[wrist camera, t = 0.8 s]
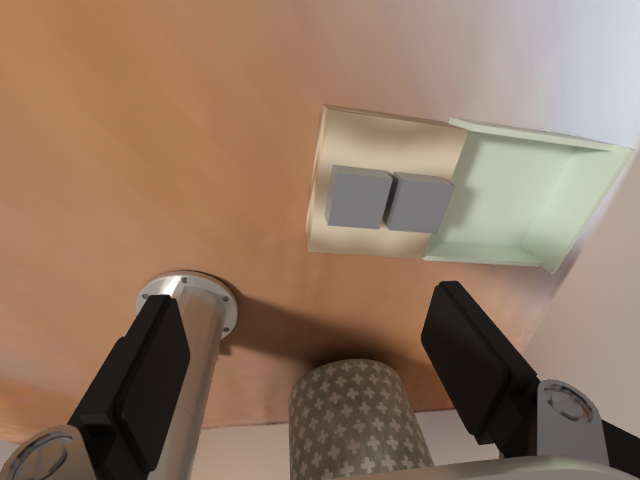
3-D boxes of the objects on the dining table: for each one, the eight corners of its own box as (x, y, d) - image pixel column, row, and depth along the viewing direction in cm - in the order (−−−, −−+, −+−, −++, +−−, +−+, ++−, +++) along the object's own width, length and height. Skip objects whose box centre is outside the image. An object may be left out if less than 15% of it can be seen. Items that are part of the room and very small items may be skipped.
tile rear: (426, 222, 31) (436, 233, 29) (381, 218, 30) (389, 230, 28) (442, 176, 29) (455, 185, 27) (394, 171, 28) (403, 179, 26)
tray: (520, 248, 41) (554, 274, 36) (409, 240, 38) (429, 267, 33) (581, 137, 34) (636, 149, 29) (449, 117, 31) (483, 126, 26)
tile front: (372, 218, 30) (379, 229, 28) (324, 214, 29) (327, 225, 27) (384, 170, 28) (392, 178, 26) (332, 164, 27) (336, 172, 25)
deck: (405, 237, 38) (421, 258, 33) (305, 229, 36) (308, 251, 31) (443, 121, 31) (469, 130, 27) (322, 103, 29) (329, 109, 25)
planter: (416, 355, 50) (478, 484, 35) (363, 418, 58) (393, 546, 42) (316, 331, 44) (335, 472, 29) (271, 404, 52) (268, 546, 37)
